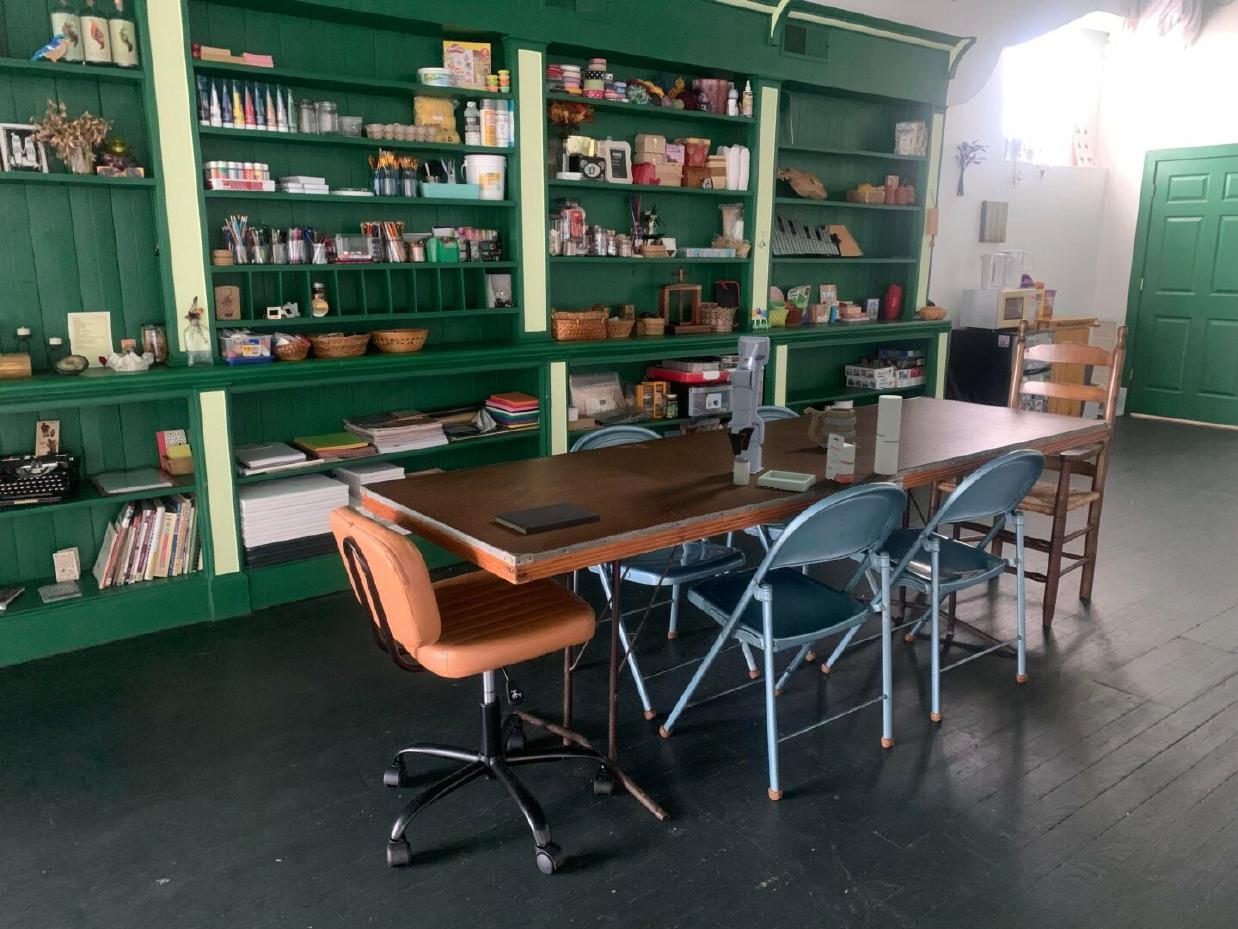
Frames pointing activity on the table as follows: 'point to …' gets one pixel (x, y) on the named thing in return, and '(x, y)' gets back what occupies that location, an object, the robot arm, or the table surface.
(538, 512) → the hardcover book
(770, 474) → the tray
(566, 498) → the table surface
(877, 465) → the cylindrical container
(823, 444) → the tankard
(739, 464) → the shaker
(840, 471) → the ink cartridge box
